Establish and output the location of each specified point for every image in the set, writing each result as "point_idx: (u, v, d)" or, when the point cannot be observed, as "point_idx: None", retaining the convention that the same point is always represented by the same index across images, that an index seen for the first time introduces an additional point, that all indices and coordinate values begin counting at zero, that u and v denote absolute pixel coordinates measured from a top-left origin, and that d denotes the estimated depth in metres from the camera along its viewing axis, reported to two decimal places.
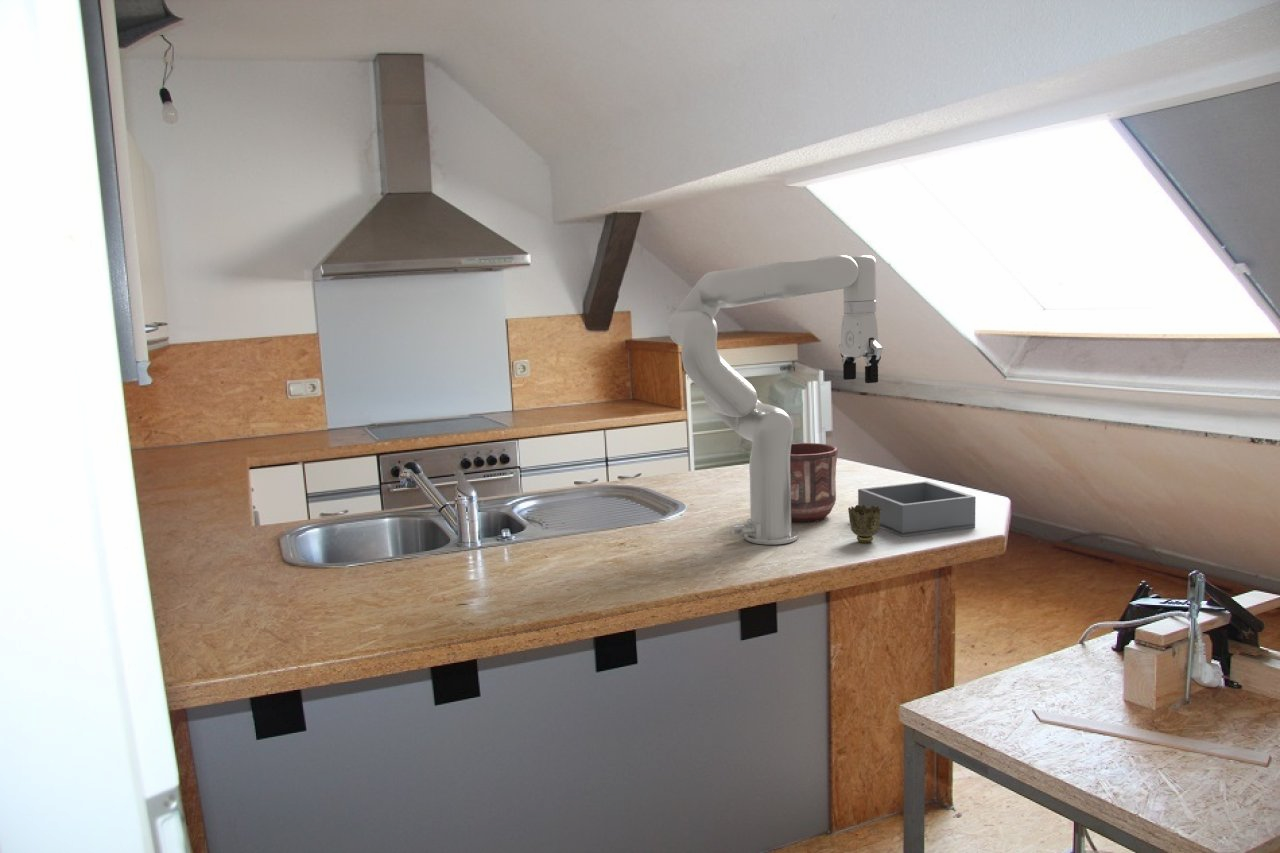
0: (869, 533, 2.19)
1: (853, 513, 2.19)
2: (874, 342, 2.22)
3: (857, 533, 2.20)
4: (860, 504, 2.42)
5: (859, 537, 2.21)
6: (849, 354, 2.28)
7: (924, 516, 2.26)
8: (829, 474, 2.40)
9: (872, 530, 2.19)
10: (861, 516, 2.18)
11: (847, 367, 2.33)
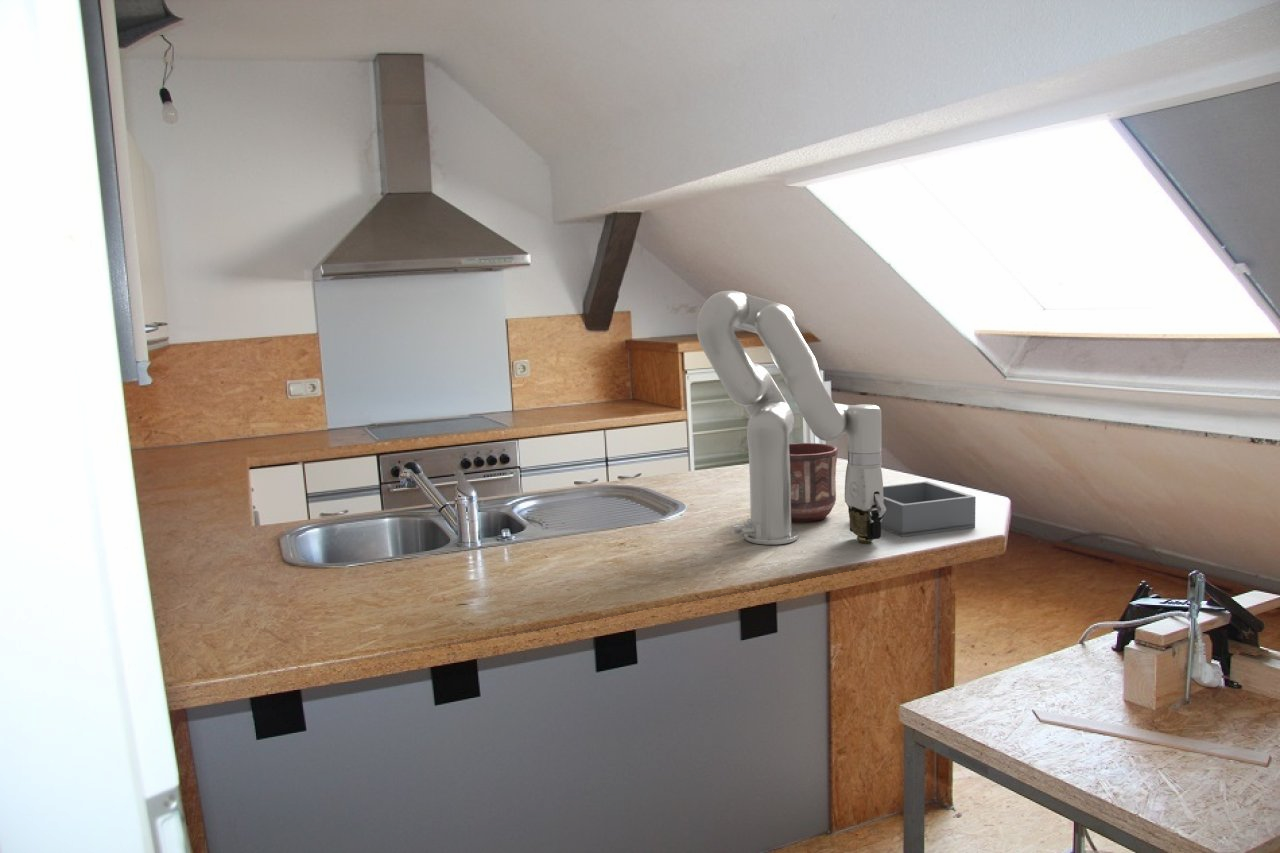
0: None
1: (853, 513, 2.19)
2: (878, 499, 2.15)
3: (857, 533, 2.20)
4: None
5: (859, 537, 2.21)
6: (853, 505, 2.20)
7: (924, 516, 2.26)
8: (829, 474, 2.40)
9: None
10: (861, 516, 2.18)
11: None
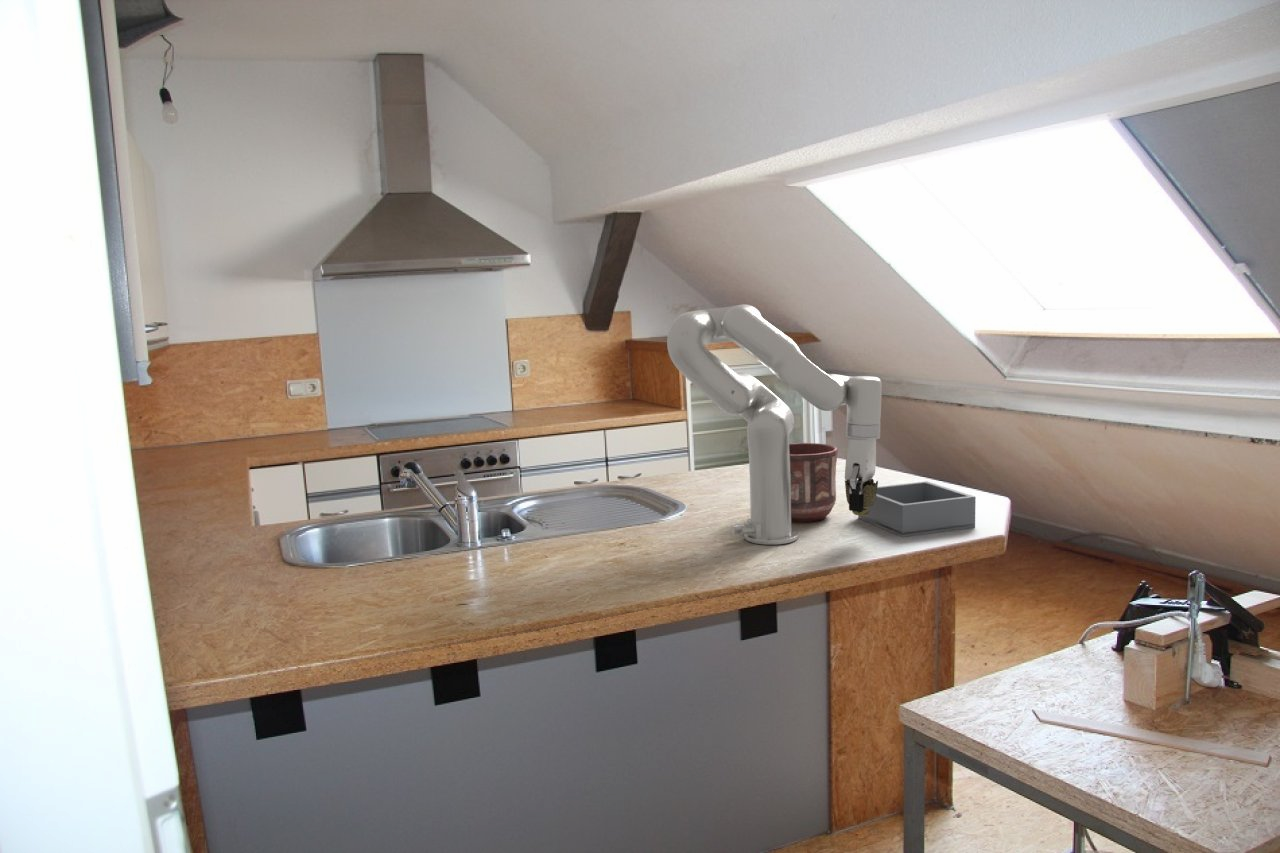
0: None
1: (845, 482, 2.21)
2: (854, 471, 2.14)
3: (848, 503, 2.21)
4: None
5: None
6: None
7: (924, 516, 2.26)
8: (829, 474, 2.40)
9: None
10: (847, 486, 2.19)
11: None
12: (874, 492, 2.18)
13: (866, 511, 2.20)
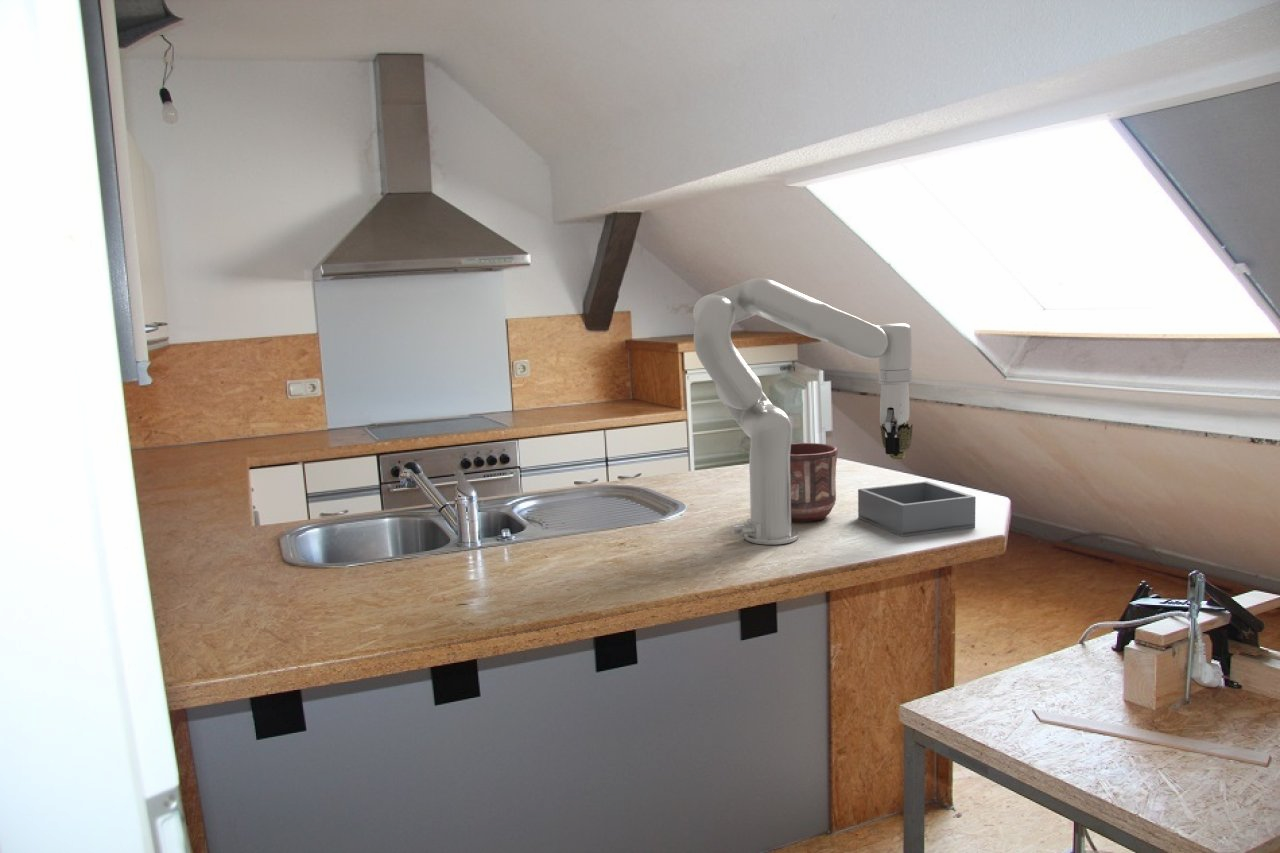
0: None
1: (880, 427, 2.28)
2: (889, 415, 2.22)
3: None
4: (860, 504, 2.42)
5: None
6: None
7: (924, 516, 2.26)
8: (829, 474, 2.40)
9: None
10: (883, 431, 2.26)
11: None
12: (909, 435, 2.25)
13: (902, 454, 2.27)
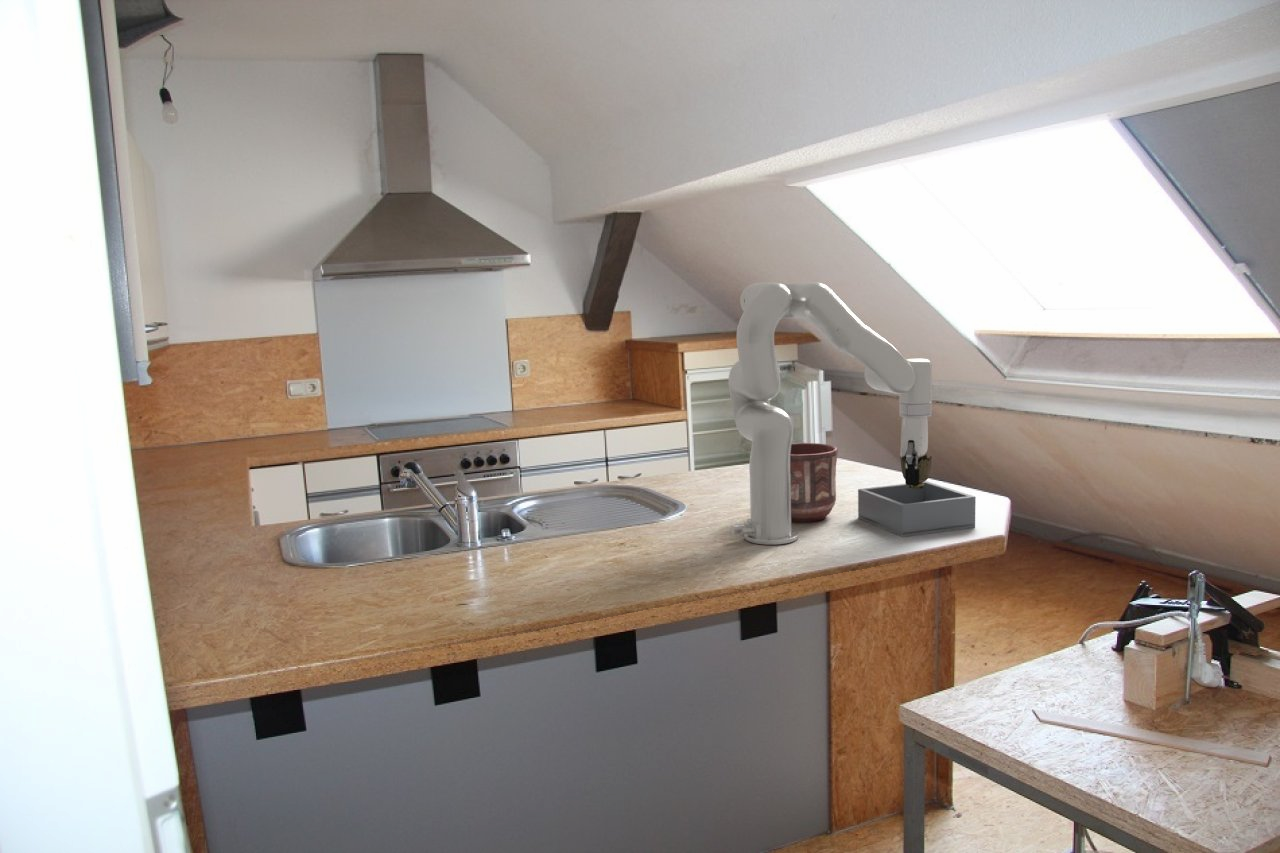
0: None
1: (900, 458, 2.36)
2: (909, 447, 2.29)
3: (904, 478, 2.36)
4: (860, 504, 2.42)
5: None
6: None
7: (924, 516, 2.26)
8: (829, 474, 2.40)
9: None
10: (903, 462, 2.34)
11: None
12: (929, 466, 2.33)
13: (922, 485, 2.35)
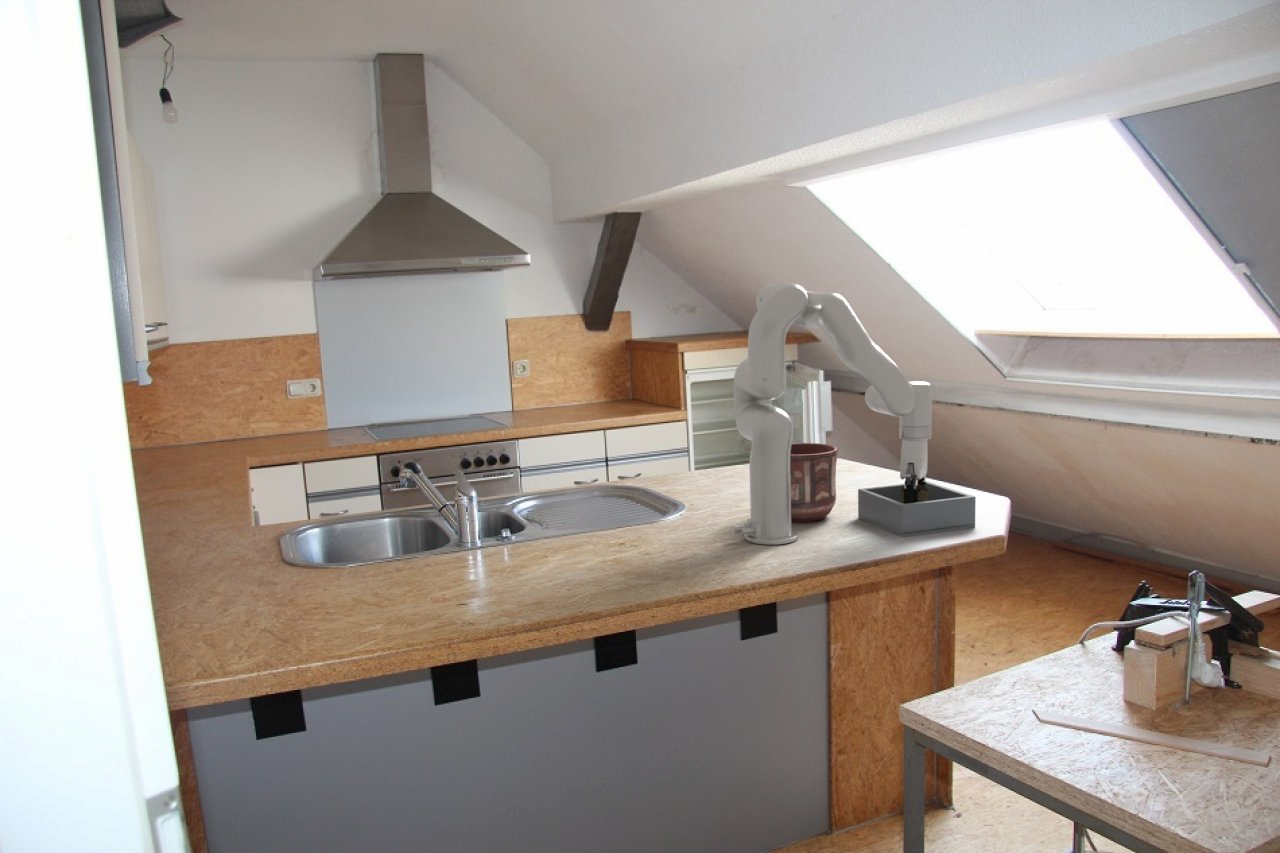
0: None
1: (899, 489, 2.37)
2: (909, 468, 2.30)
3: None
4: (860, 504, 2.42)
5: None
6: None
7: (924, 516, 2.26)
8: (829, 474, 2.40)
9: None
10: (902, 493, 2.35)
11: None
12: (927, 497, 2.34)
13: None
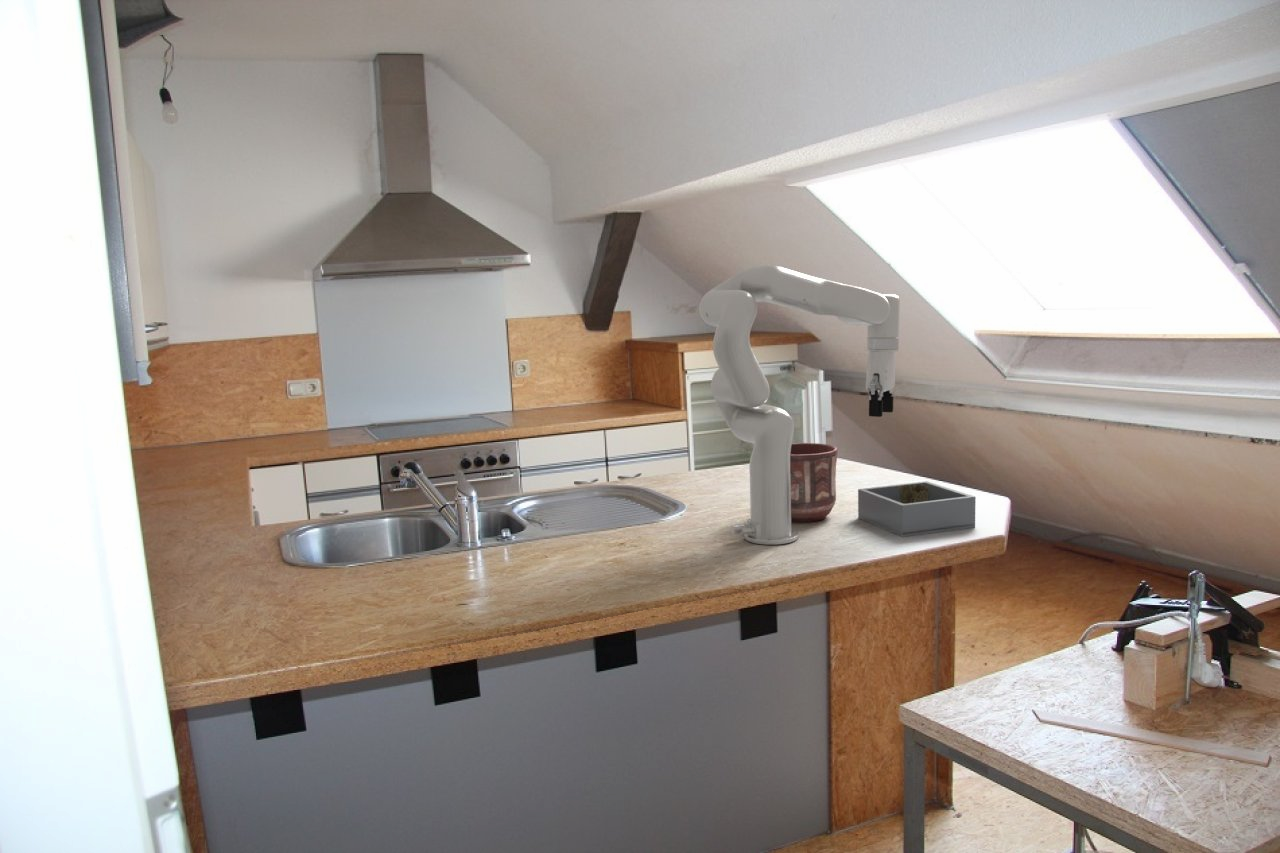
0: None
1: (899, 489, 2.37)
2: (874, 378, 2.32)
3: None
4: (860, 504, 2.42)
5: None
6: None
7: (924, 516, 2.26)
8: (829, 474, 2.40)
9: None
10: (902, 493, 2.35)
11: (883, 400, 2.42)
12: (927, 497, 2.34)
13: None
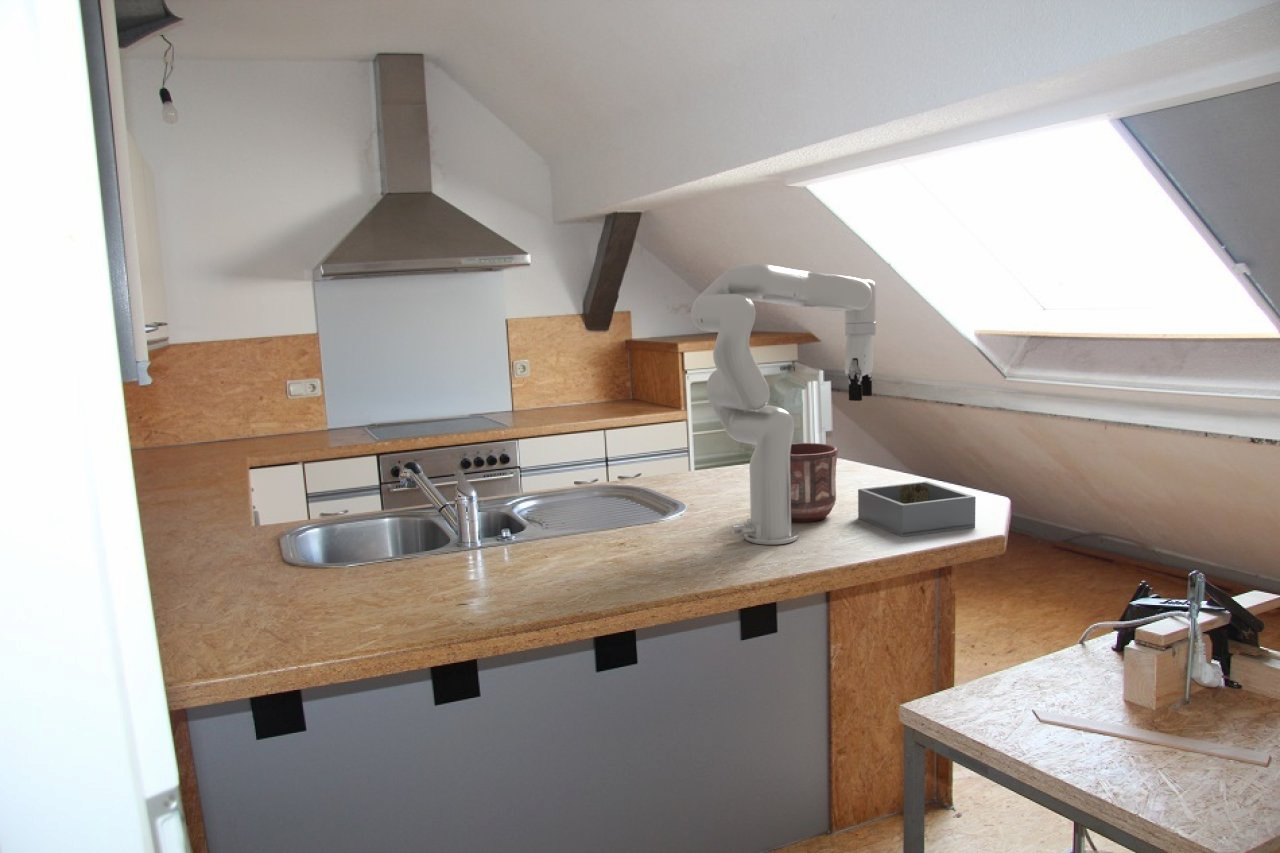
0: None
1: (899, 489, 2.37)
2: (853, 362, 2.35)
3: None
4: (860, 504, 2.42)
5: None
6: None
7: (924, 516, 2.26)
8: (829, 474, 2.40)
9: None
10: (902, 493, 2.35)
11: (862, 383, 2.46)
12: (927, 497, 2.34)
13: None
